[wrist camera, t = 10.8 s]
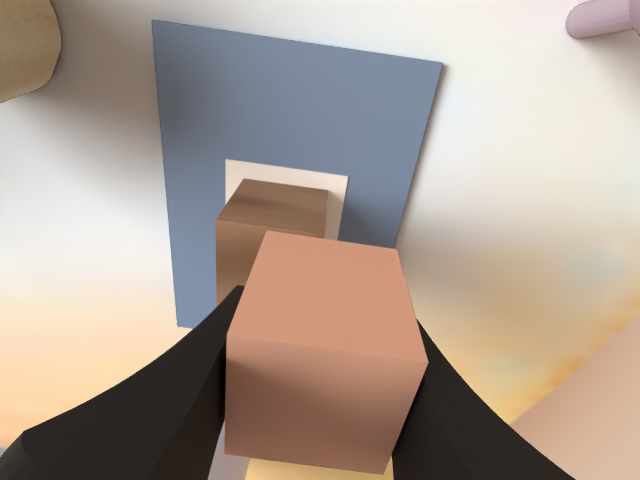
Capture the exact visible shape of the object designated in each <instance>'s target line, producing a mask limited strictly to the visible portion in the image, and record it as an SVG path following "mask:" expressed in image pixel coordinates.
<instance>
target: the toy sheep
mask: <svg viewBox="0 0 640 480" xmlns="http://www.w3.org/2000/svg"><path fill="white" fill-rule="evenodd" d="M566 29H567V31H568V33H569V34H570V35H571V36H572V37H575V38H586V37H592V36H598V35H603V34H609V33H615V32H621V31H627V30H633V29H635V31H636V32H637V33H638V34H639V35H640V0H590V1H587V2H584V3H581V4H578V5H577V6H575V7H574V8H573V9H572V10H571V11H570V13H569V15H568V17H567V20H566Z"/></svg>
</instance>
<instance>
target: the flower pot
mask: <svg viewBox="0 0 640 480" xmlns="http://www.w3.org/2000/svg"><path fill="white" fill-rule="evenodd" d="M60 51H61V35H60V29H59V24H58V20H57V17H56V15H55V12H54V9H53V7H52V5H51V2H50V1H49V0H0V103H3V102H5V101H7V100H10V99H12V98H15V97H17V96H20V95H22V94H25V93H28V92H31V91H34V90H36V89H38V88H40V87H42V86H43V85H45V84H46V83H47V82H48V81H49V80H50V79H51V77H52V74H53V71H54V68H55V66H56V63H57V60H58V57H59V54H60Z"/></svg>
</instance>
